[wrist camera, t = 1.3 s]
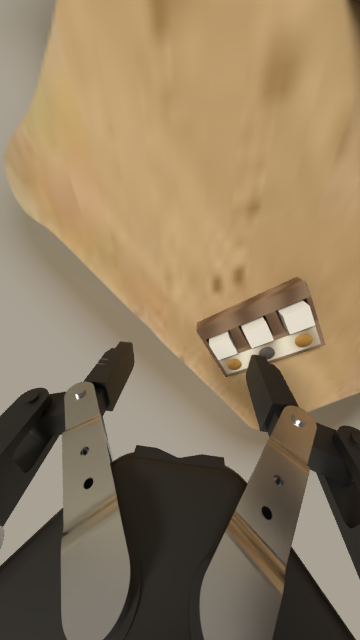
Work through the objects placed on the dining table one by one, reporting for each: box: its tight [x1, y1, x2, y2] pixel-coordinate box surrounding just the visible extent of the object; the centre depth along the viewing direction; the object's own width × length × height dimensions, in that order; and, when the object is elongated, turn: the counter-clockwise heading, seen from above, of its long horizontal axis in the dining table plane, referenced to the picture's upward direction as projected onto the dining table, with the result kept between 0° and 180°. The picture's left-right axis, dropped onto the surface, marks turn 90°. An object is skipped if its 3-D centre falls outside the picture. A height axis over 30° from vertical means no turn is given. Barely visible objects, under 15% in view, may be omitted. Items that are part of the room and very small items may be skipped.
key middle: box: [241, 317, 274, 348], centre depth 29 cm, size 4×4×2 cm
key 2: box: [277, 300, 315, 334], centre depth 27 cm, size 4×4×2 cm
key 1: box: [209, 331, 238, 360], centre depth 31 cm, size 4×4×2 cm
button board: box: [197, 277, 325, 377], centre depth 31 cm, size 18×12×3 cm
